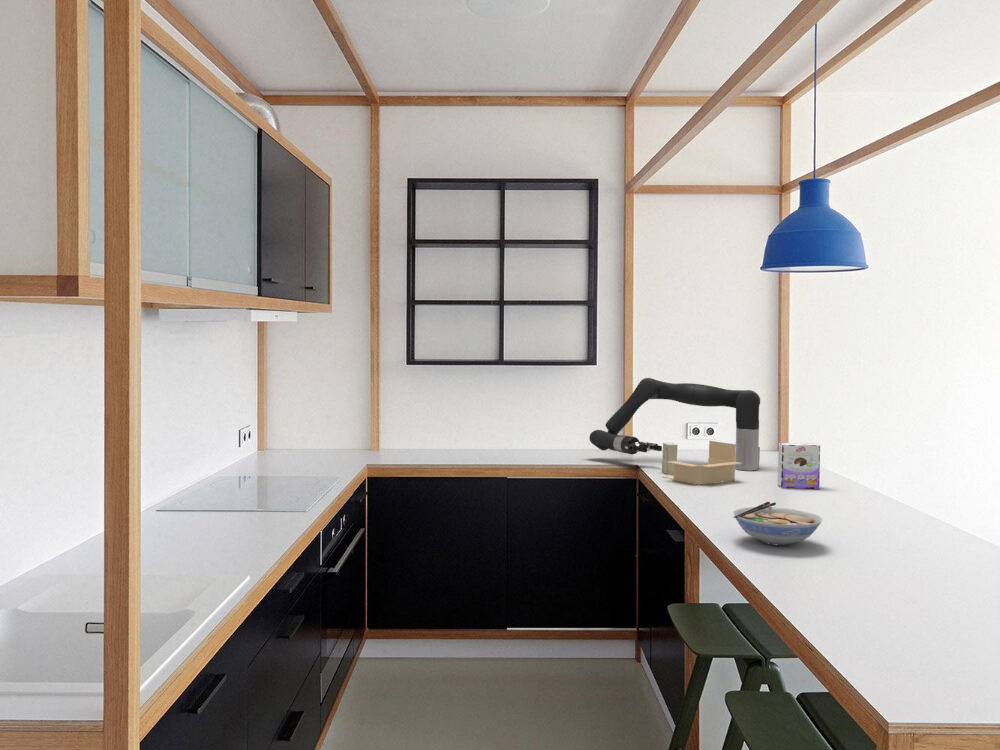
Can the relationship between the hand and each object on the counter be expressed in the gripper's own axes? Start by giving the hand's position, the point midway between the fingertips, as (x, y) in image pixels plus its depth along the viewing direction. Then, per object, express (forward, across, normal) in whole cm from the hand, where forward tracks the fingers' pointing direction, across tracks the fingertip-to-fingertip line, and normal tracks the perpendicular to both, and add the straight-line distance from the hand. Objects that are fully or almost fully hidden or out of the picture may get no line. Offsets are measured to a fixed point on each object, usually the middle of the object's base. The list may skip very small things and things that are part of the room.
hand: (653, 449), depth 337 cm
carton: (+26, -2, +9) cm, 27 cm away
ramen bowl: (+103, -59, +9) cm, 120 cm away
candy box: (+56, +18, +9) cm, 59 cm away
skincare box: (+9, 0, +9) cm, 12 cm away
